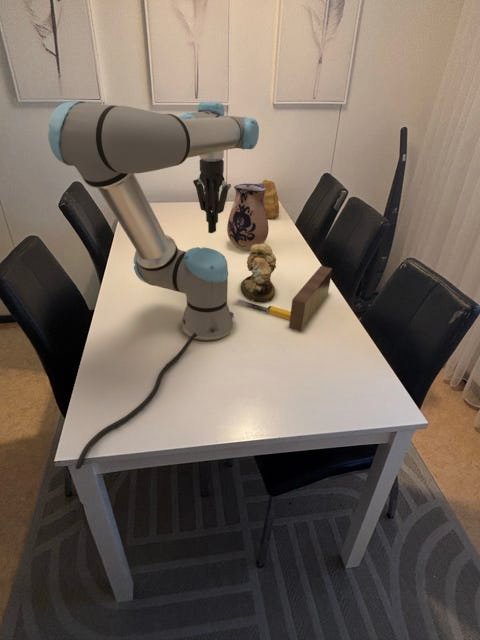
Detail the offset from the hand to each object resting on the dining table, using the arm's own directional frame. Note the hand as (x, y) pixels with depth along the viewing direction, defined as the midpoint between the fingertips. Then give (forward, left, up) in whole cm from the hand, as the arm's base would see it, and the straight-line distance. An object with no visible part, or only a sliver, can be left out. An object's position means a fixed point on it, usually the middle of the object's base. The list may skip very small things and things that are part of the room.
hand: (212, 231), depth 134 cm
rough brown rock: (+76, +17, -18) cm, 80 cm away
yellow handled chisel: (-11, -26, -18) cm, 33 cm away
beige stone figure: (0, -18, -18) cm, 25 cm away
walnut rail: (-3, -39, -18) cm, 43 cm away
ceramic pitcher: (+34, +3, -18) cm, 39 cm away
